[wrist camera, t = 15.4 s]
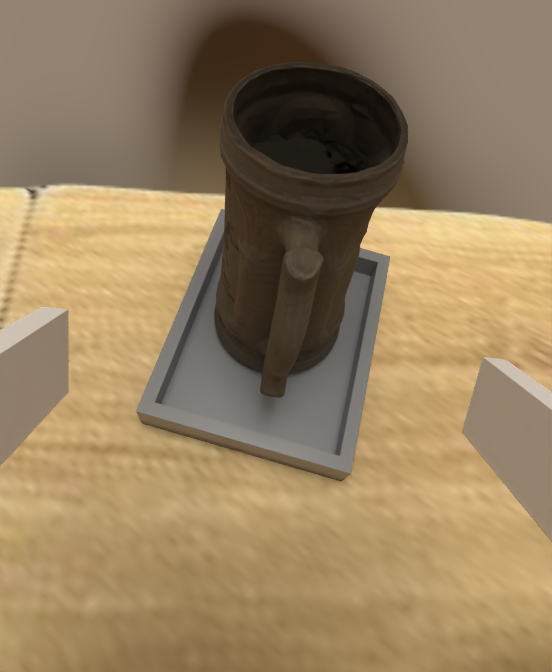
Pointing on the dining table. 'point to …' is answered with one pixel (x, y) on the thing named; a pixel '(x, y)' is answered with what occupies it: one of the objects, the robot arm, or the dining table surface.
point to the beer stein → (298, 208)
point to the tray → (244, 382)
